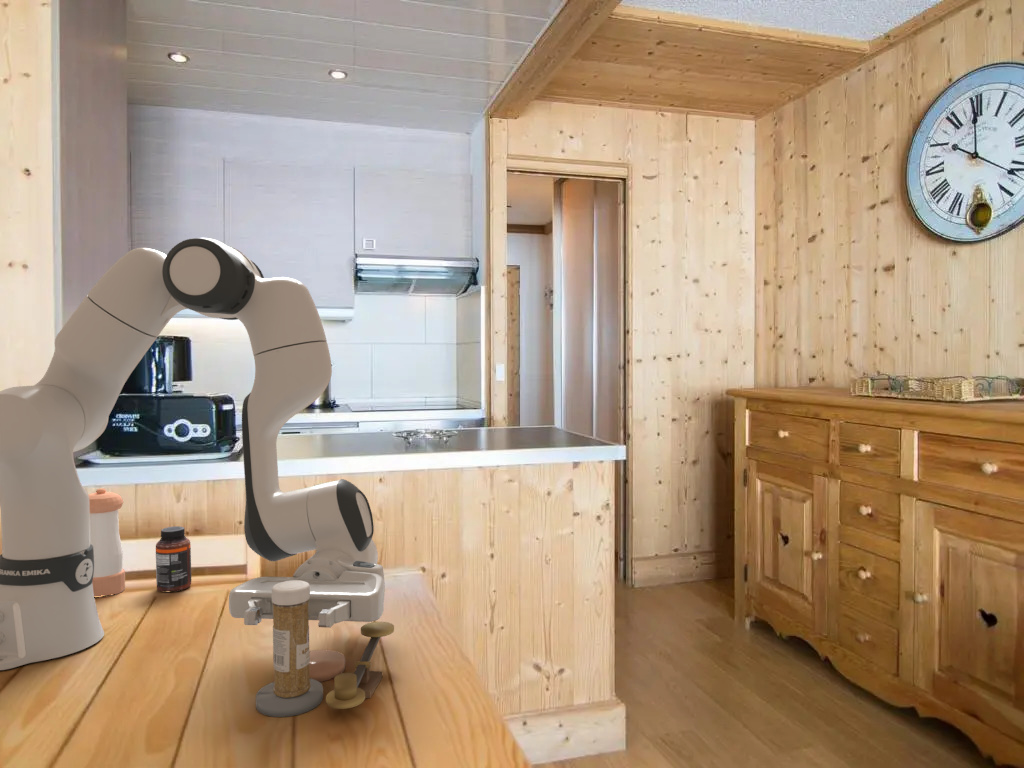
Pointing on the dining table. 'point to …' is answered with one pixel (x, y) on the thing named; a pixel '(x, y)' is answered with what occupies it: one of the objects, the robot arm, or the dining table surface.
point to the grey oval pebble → (288, 701)
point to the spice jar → (291, 638)
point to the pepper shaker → (106, 543)
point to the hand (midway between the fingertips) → (286, 620)
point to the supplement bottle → (173, 560)
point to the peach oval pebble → (325, 664)
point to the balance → (359, 672)
